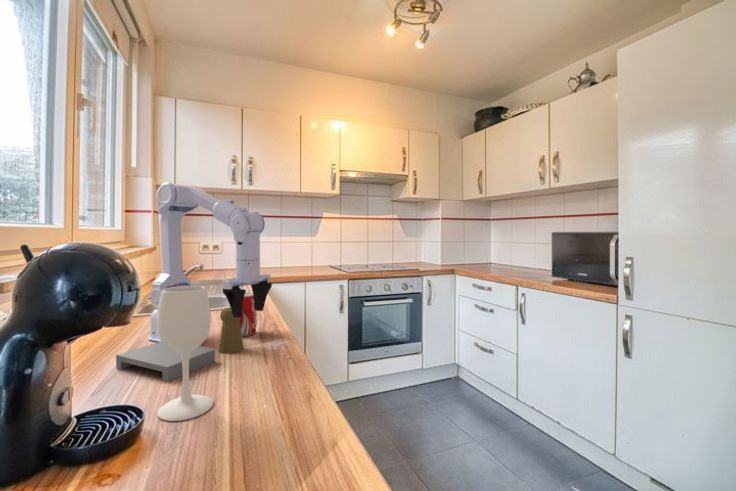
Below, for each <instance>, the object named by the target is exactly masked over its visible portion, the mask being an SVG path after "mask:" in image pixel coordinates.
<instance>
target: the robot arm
mask: <svg viewBox="0 0 736 491" xmlns="http://www.w3.org/2000/svg"><path fill="white" fill-rule="evenodd" d="M156 207H157V208H156V212H157V213H158V224H159V227H158V228H159V246H160V263H161V264H160V266H161V267H160V268H161V274H160V276H158V277H157V278H156V279H155V280H154V281H153V282H152V284H151V286H152V288H151V293H150V296H149V297H150V298H149V299H150V302H151V305H152V306H153V308H155V309H154V310H153V311H152V313H151V315H150V337H148V338H147V340H148V341H153V342H156V343H158V342H161V340H160V338H159V334H158V327H157V315H158V307H159V301H160V297H161V293H162V290H163V289H166V288H171V287H179V286H192V282H191V281H192V280H191V278H190V277H188V276H187V275H186V274H185V273H184V266H183V244H182V243H183V241H182V218H183V217H185V215H188V214H189V213H191V212H192V211H195V209H197V208H198V207H202V208H203V209H205V210H208V211H210V212H212V216H213V218H214V219H216V220H217V221H219V222H220V223H223V224H224V225H226V226H228V227H229V228H230V230H231V231H232V233H233V240H234V242H235V270H236V271H235V277H233V278H230V279H225V280H222V293H223V294H224V296H225V298H226V299H227V302H228V304H229V308H230V307H231V310H232V314H233V317H238V318H240V317H242V309H243V299H244V295H245V293H247V290H246V289H243V288H241V287H245V286H250V287H251V290H252V293H253V295H254V307H255V310H256V312H263V311H264V309H265V308H264V307H265V303H266V300H267V297H268V294H269V292H270V291H271V288H272V286H273V285H272V282H271V274H270V273H269V274H268V273H265V274H264V273H261V233H263V231H264V230H265V225H266V223H265V219H264V217H263V216H262V214H260V213H259V212H258V211H252V212H250V211H249V210H248V208H247V207H245V206H239V205H238V204H236V203H235V200H233V199H229V198H227V199H220V200H219V199H218V198H216V197H215V196H213V195H212V194H210V193H208V192H206V191H204V189H203V188H201V187H198V186H196V185H192V186H191V185H186V184H179V183H172V182H169V181H167V182H165V181H164V182H163V183H162V184H161V185H160V187H159V188H157V190H156Z"/></svg>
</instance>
